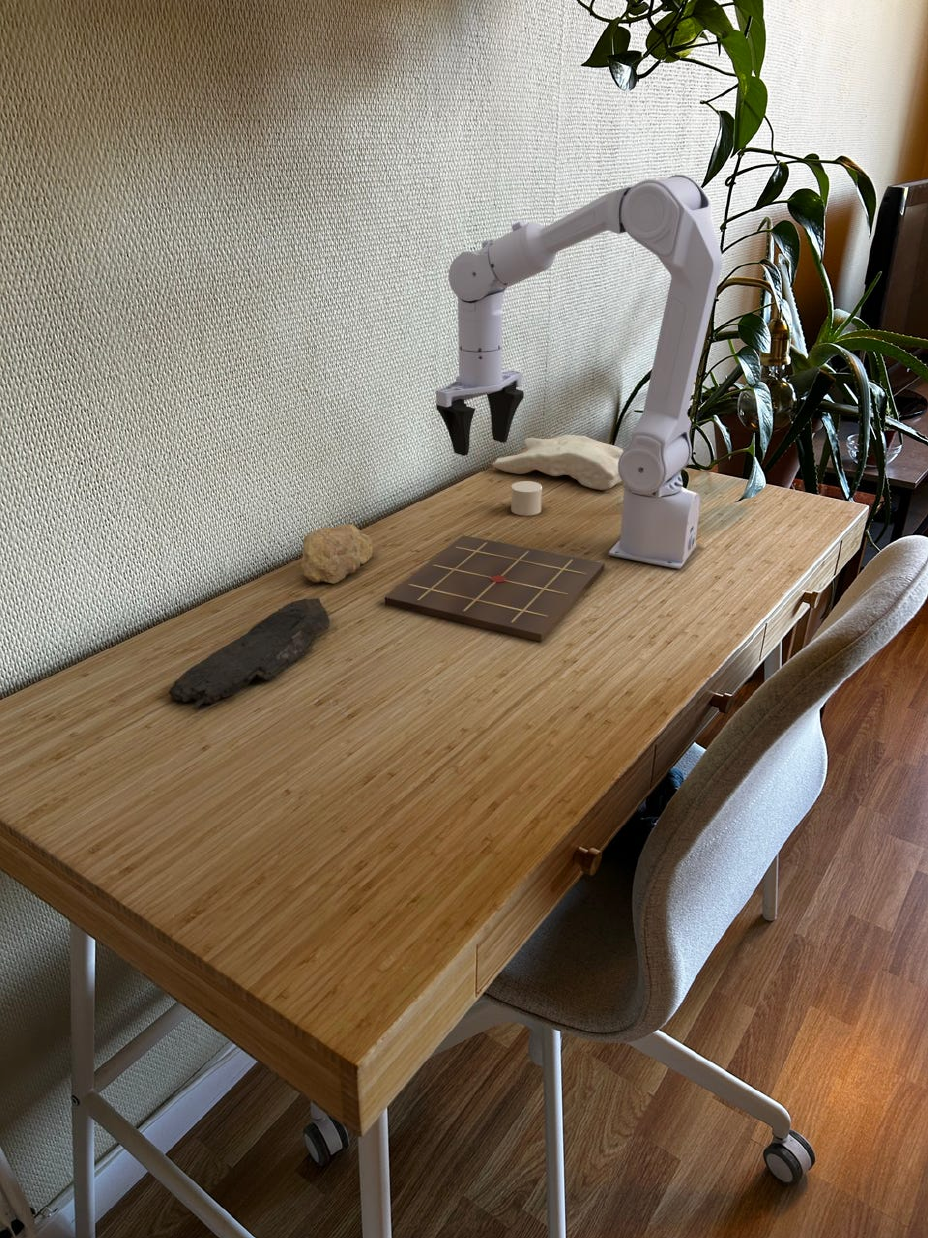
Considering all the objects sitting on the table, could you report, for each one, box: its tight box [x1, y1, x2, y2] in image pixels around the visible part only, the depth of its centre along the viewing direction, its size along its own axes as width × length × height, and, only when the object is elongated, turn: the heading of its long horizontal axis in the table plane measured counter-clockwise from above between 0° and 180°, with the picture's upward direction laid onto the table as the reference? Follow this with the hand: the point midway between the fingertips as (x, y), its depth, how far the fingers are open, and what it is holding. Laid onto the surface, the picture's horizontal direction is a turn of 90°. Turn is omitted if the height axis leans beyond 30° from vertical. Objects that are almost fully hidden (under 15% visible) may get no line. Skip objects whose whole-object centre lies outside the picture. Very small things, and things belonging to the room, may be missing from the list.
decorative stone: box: [491, 434, 624, 491], centre depth 146 cm, size 21×5×15 cm
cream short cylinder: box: [510, 480, 543, 517], centre depth 132 cm, size 4×4×4 cm
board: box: [383, 534, 606, 643], centre depth 111 cm, size 20×20×1 cm
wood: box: [168, 597, 331, 710], centre depth 96 cm, size 22×7×3 cm, turn 150°
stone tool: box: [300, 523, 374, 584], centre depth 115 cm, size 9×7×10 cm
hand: (480, 447), depth 127 cm, fingers open, 7 cm apart
